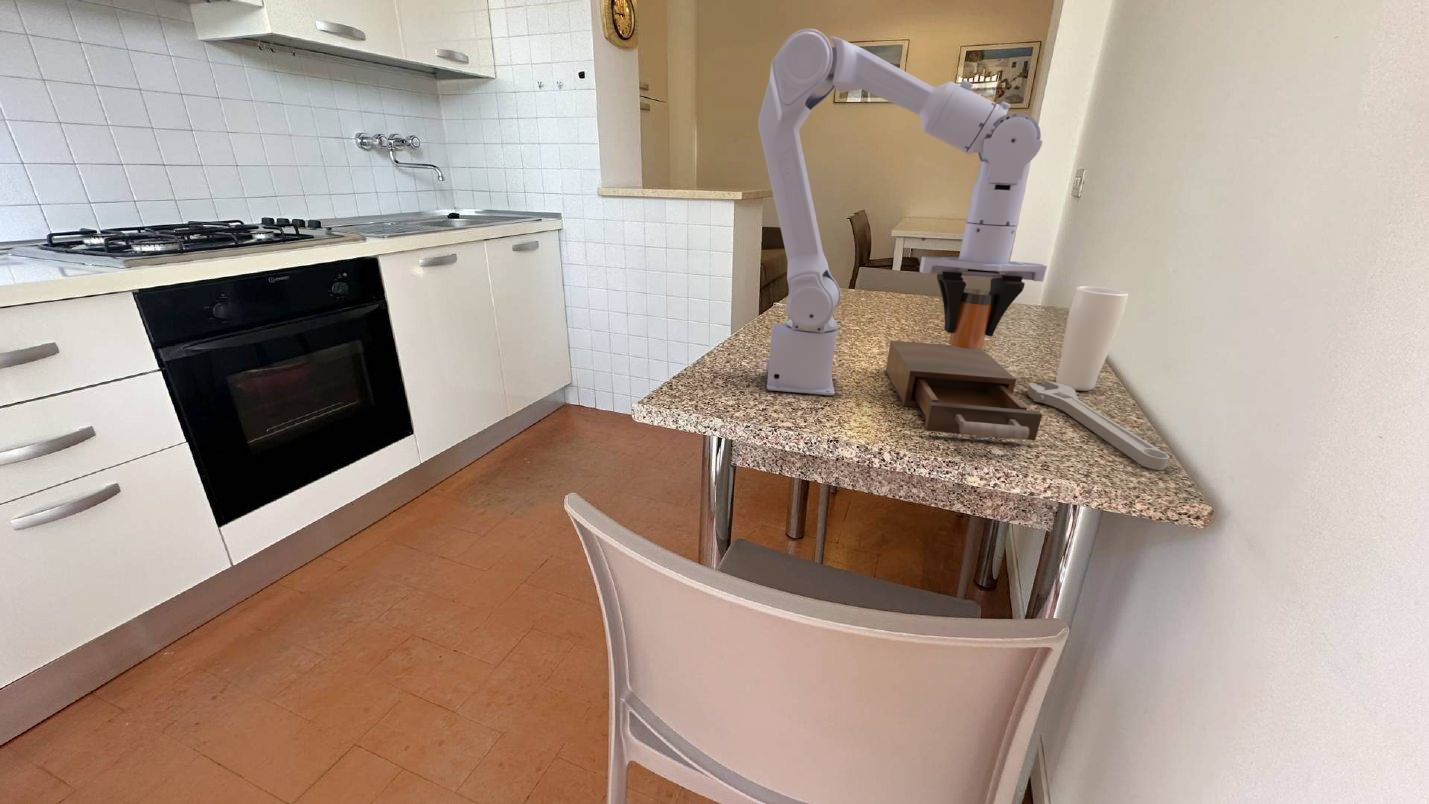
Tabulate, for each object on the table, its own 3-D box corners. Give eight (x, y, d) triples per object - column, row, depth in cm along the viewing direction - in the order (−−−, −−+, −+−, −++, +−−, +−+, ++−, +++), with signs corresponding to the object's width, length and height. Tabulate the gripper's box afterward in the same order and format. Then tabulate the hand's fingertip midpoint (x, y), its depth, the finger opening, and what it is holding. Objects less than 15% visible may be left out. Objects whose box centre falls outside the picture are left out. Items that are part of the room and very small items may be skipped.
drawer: (1049, 455, 63) (1057, 428, 62) (934, 445, 64) (939, 418, 63) (993, 397, 80) (999, 374, 79) (903, 389, 81) (907, 367, 80)
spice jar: (952, 347, 73) (963, 293, 71) (943, 338, 78) (954, 287, 75) (988, 350, 73) (1001, 296, 70) (978, 341, 77) (989, 289, 74)
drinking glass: (1052, 376, 93) (1077, 284, 88) (1100, 386, 90) (1130, 290, 84) (1046, 386, 88) (1073, 289, 83) (1098, 397, 85) (1129, 296, 79)
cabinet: (1007, 415, 76) (1016, 379, 74) (903, 406, 78) (910, 370, 76) (972, 377, 91) (979, 346, 89) (885, 370, 92) (890, 340, 90)
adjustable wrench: (1171, 472, 63) (1177, 457, 62) (1111, 468, 63) (1116, 453, 63) (1061, 392, 86) (1064, 381, 85) (1017, 389, 86) (1020, 378, 86)
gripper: (937, 222, 67) (916, 335, 72) (1068, 230, 65) (1037, 345, 70) (924, 219, 73) (906, 323, 78) (1043, 226, 72) (1017, 331, 77)
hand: (967, 332), depth 75 cm, fingers closed on spice jar, 4 cm apart
